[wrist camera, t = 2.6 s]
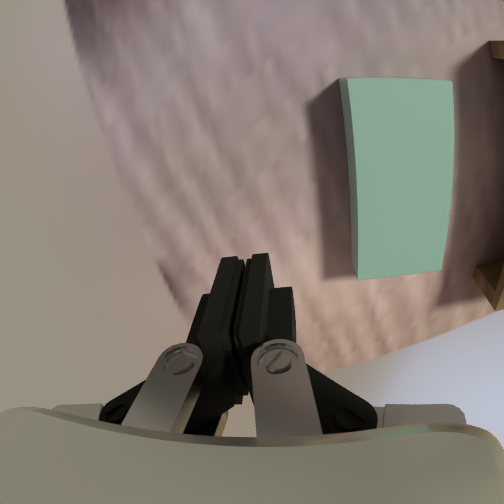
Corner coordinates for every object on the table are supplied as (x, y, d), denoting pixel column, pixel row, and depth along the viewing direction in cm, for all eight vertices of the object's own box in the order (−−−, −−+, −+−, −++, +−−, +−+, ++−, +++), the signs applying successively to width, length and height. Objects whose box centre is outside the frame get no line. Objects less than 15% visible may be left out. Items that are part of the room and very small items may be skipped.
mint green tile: (338, 78, 15) (347, 78, 13) (433, 79, 14) (452, 81, 12) (351, 259, 21) (357, 280, 19) (428, 251, 20) (441, 270, 18)
